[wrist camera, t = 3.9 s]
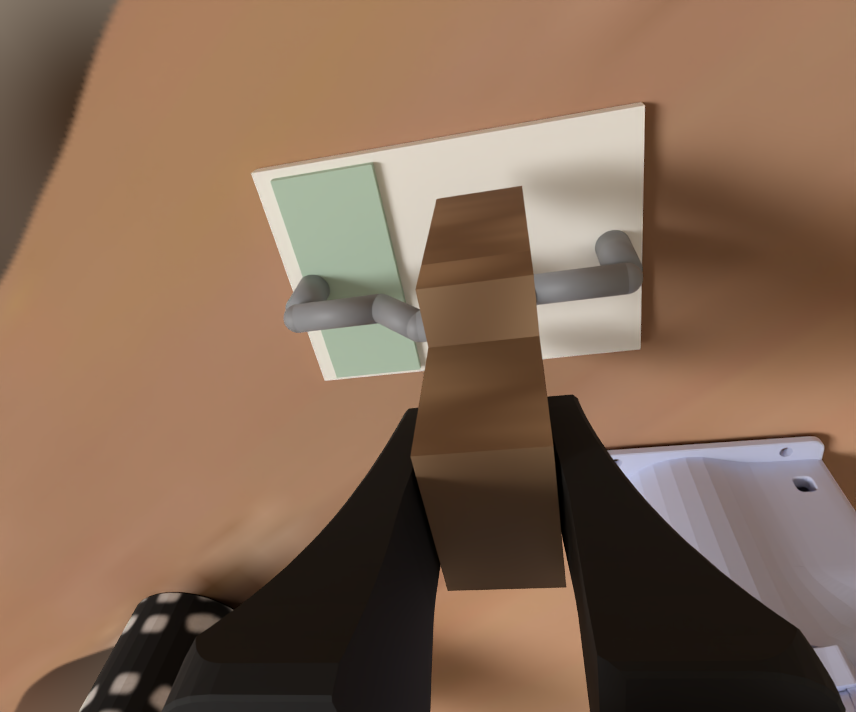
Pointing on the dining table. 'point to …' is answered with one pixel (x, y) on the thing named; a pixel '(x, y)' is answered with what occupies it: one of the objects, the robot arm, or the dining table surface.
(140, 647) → the white-spotted black cylinder
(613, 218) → the buzz wire board
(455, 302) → the stepped wooden block
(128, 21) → the dining table surface
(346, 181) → the end pad
